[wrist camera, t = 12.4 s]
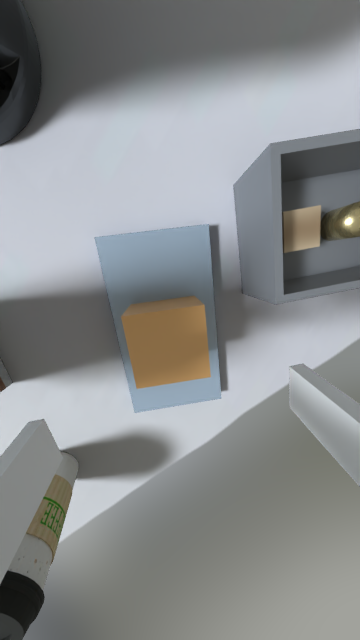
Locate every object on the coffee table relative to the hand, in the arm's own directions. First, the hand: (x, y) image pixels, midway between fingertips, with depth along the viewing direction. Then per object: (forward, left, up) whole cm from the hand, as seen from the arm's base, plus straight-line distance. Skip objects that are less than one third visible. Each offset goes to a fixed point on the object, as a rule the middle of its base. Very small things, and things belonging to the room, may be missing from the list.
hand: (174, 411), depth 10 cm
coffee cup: (+20, -22, -17) cm, 35 cm away
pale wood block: (-9, +16, -16) cm, 24 cm away
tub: (-9, +23, -17) cm, 30 cm away
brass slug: (-9, +23, -16) cm, 29 cm away
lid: (0, 0, -16) cm, 16 cm away
